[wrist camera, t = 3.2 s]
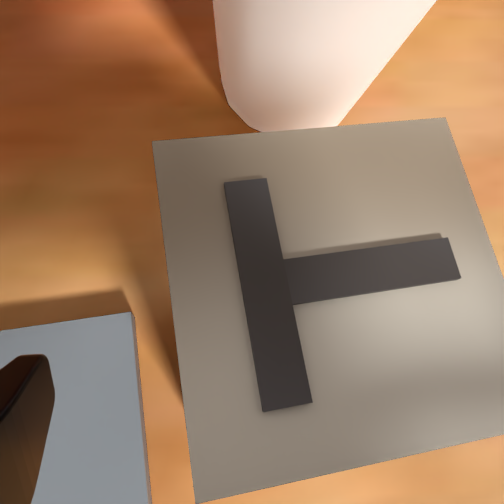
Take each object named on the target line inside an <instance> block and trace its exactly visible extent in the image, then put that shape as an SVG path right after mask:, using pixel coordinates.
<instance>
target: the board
mask: <svg viewBox="0 0 504 504" xmlns="http://www.w3.org/2000/svg"><path fill="white" fill-rule="evenodd" d="M27 354H44V355H45V356H47V358H48V360H49V364H50V369H51V374H52V379H53V384H54V388H55V403H54V408H53V413H52V417H51V422H50V426H49V431H48V435H47V440H46V444H45V449H44V453H43V458H42V462H41V467H40V471H39V476H38V480H37V484H36V488H35V492H34V496H33V499H32V502H31V504H152V498H151V487H150V476H149V466H148V455H147V444H146V434H145V423H144V412H143V402H142V391H141V380H140V370H139V359H138V348H137V338H136V327H135V317H134V315H133V314H132V313H131V312H126V313H119V314H112V315H105V316H98V317H92V318H85V319H78V320H71V321H64V322H57V323H51V324H44V325H37V326H30V327H23V328H16V329H10V330H3V331H0V369H1V368H3V367H4V366H5V365H7V364H8V363H9V362H11V361H12V360H13V359H15V358H16V357H18V356H20V355H27Z"/></svg>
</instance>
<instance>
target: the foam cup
mask: <svg viewBox="0 0 504 504" xmlns="http://www.w3.org/2000/svg"><path fill="white" fill-rule="evenodd" d="M435 2H436V0H213V10H214V20H215V29H216V39H217V49H218V59H219V68H220V73H221V81H222V85H223V88H224V91H225V95H226V98H227V101H228V104H229V106H230V107H231V108H232V109H233V110H234V111H235V112H236V113H237V114H238V115H239V117H240V118H241V119H242V120H243V121H244V122H245V123H246V124H247V125H248V126H249V127H251V128H253V129H256V130H258V131H260V132H272V131H284V130H296V129H309V128H321V127H334V126H337V125H338V124H339V123H340V122H341V121H342V119H343V118H344V117H345V116H346V114H347V113H348V112H349V111H350V109H351V108H352V107H353V106H354V104H355V103H356V102H357V101H358V99H359V98H360V97H361V95H362V94H363V93H364V92H365V90H366V89H367V88H368V87H369V85H370V84H371V83H372V82H373V80H374V79H375V78H376V76H377V75H378V74H379V73H380V71H381V70H382V69H383V68H384V66H385V65H386V64H387V63H388V61H389V60H390V59H391V57H392V56H393V55H394V54H395V52H396V51H397V50H398V49H399V47H400V46H401V45H402V44H403V42H404V41H405V40H406V38H407V37H408V36H409V35H410V33H411V32H412V31H413V30H414V28H415V27H416V26H417V25H418V23H419V22H420V21H421V19H422V18H423V17H424V16H425V14H426V13H427V12H428V11H429V9H430V8H431V7H432V6H433V4H434V3H435Z"/></svg>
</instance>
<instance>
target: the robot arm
mask: <svg viewBox="0 0 504 504" xmlns="http://www.w3.org/2000/svg"><path fill="white" fill-rule="evenodd" d="M54 403H55V388H54V384H53V379H52V374H51V369H50V364H49V360H48V358H47V356H45V355H44V354H27V355H20V356H18V357H16V358H15V359H13V360H12V361H11V362H9V363H8V364H7V365H5V366H4V367H3V368H1V369H0V504H31V502H32V499H33V496H34V492H35V488H36V484H37V480H38V476H39V471H40V467H41V462H42V458H43V453H44V449H45V444H46V440H47V435H48V431H49V426H50V422H51V417H52V413H53V408H54Z"/></svg>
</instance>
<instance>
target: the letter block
mask: <svg viewBox="0 0 504 504" xmlns="http://www.w3.org/2000/svg"><path fill="white" fill-rule="evenodd" d="M152 147H153V155H154V163H155V172H156V180H157V188H158V197H159V205H160V213H161V221H162V230H163V238H164V246H165V255H166V263H167V271H168V279H169V288H170V296H171V304H172V313H173V321H174V329H175V337H176V346H177V354H178V362H179V371H180V379H181V387H182V395H183V404H184V412H185V420H186V429H187V437H188V445H189V454H190V462H191V470H192V478H193V487H194V495H195V503H196V504H199V503H203V502H208V501H212V500H216V499H221V498H225V497H230V496H234V495H239V494H243V493H247V492H252V491H256V490H261V489H265V488H269V487H274V486H278V485H283V484H287V483H291V482H296V481H300V480H305V479H309V478H313V477H318V476H322V475H327V474H331V473H336V472H340V471H344V470H349V469H353V468H358V467H362V466H366V465H371V464H375V463H380V462H384V461H388V460H393V459H397V458H402V457H406V456H410V455H415V454H419V453H424V452H428V451H432V450H437V449H441V448H446V447H450V446H455V445H459V444H463V443H468V442H472V441H477V440H481V439H485V438H490V437H494V436H499V435H503V434H504V279H503V276H502V273H501V270H500V267H499V265H498V262H497V259H496V256H495V254H494V251H493V248H492V245H491V242H490V240H489V237H488V234H487V231H486V229H485V226H484V223H483V220H482V218H481V215H480V212H479V209H478V206H477V204H476V201H475V198H474V195H473V193H472V190H471V187H470V184H469V181H468V179H467V176H466V173H465V170H464V168H463V165H462V162H461V159H460V156H459V154H458V151H457V148H456V145H455V143H454V140H453V137H452V134H451V132H450V129H449V126H448V123H447V120H446V118H433V119H420V120H408V121H396V122H383V123H371V124H358V125H346V126H334V127H321V128H309V129H296V130H284V131H272V132H259V133H247V134H235V135H222V136H210V137H197V138H185V139H173V140H160V141H152Z"/></svg>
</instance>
